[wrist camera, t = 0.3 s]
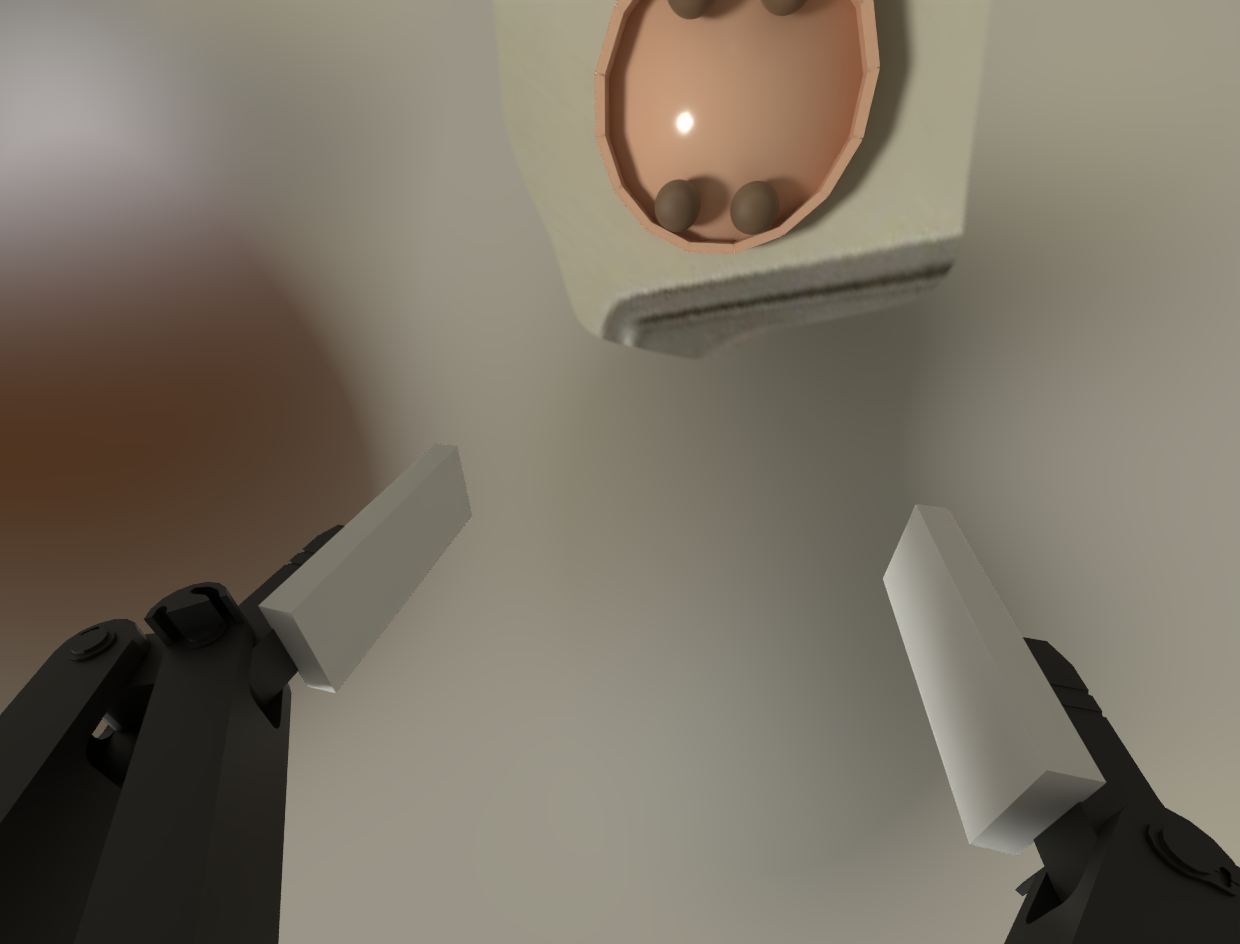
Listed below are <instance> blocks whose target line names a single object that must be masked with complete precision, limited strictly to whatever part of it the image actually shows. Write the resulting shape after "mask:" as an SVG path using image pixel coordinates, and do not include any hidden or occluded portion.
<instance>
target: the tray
mask: <svg viewBox="0 0 1240 944" xmlns="http://www.w3.org/2000/svg"><path fill="white" fill-rule="evenodd" d="M616 5H617V7H616V6H614V9H613V13H612V16H611V20H610V23H609V27H608V30H607V33H606V37H605V40H604V44H603V47H602V50H601V54H600V57H599V61H598V64H597V67H596V71H595V72H596V73H598V74H595V115H596V137H598V138H596V140H597V143H598V146H599V148H600V151H601V154H602V157H603V160H604V163H605V166H606V169H607V172H608V175H609V178H610V181H611V184H612V187H613V190H614V191H615V193H616V194H617V196H618V197H619V198H620V199H621V200H622V202H623V203H624V204H625V205H626V207H627V208H628V209H629V210H630V211H631V213H632V214H633V215H634V216H635V218H636V219H637V220H638V221H639V222H640V224H641V225H642V226H643V227H644V229H645V230H646V229H647V231H648V232H650V233H652V234H654V235H656V236H658V237H660V238H662V239H664V240H665V241H667V242H669V243H671V244H673V245H675V246H677V247H679V248H681V249H683V250H685V251H687V250H688V252H702V253H724V254H734V252H735V254H736V253H738V252H741V251H744V250H746V249H749V248H752V247H755V246H757V245H760V244H763V243H765V242H768V241H771V240H773V239H776V238H779V237H781V236H782V234H783V235H785V234H786V233H787V232H788V231H789V230H790V229H792V228H793V227H794V226H795V225H796V224H797V223H798V222H800V221H801V220H802V219H803V218H804V217H805V216H807V215H808V214H809V213H810V212H811V211H812V210H814V209H815V208H816V207H817V206H818V205H819V204H820V203H822V202H823V201H824V200H825V199H826V198H827V196H829V195H830V193H831V191H832V190H833V188H834V186H835V185H836V183H837V181H838V180H839V178H840V176H841V175H842V173H843V171H844V170H845V168H846V166H847V165H848V163H849V161H850V160H851V158H852V156H853V155H854V153H855V151H856V150H857V148H858V146H859V145H860V143H861V141H862V139H861V138H863V137H864V133H865V128H866V124H867V120H868V116H869V112H870V108H871V103H872V99H873V95H874V91H875V87H876V83H877V78H878V74H879V70H880V68H878V67H880V61H879V51H878V41H877V31H876V21H875V12H874V2H873V0H807V2H806V3H805V4H804V5H803V6H802V7H801V8H800V9H799V10H797V11H796V12H794V13H792V14H790V15H786V16H777V15H774V14H772V13H770V12H769V11H768V10H767V9H766V8H765V7H764V6H763V4H762V2H761V0H715V2H714V4H713V5H712V7H711V8H710V9H709V10H708V12H706V13H705V14H704V15H703V16H701V17H699V18H696V19H691V20H689V19H684V18H681V17H680V16H678V15H677V14H676V13H675V12H674V11H673V10H672V9H671V7H670V5H669V3H668V0H618V1H617V2H616ZM677 179H681V180H685V181H688V182H690V183H691V184H692V185H693V186H694V187H695V188H696V189H697V191H698V193H699V196H700V201H701V207H700V212H699V215H698V218H697V219H696V221H695V222H694V224H693V225H692V226H691V227H689V228H688V229H686V230H684V231H680V232H672V231H669V230H667V229H665V228H664V227H663V226H662V225H661V224H660V223H659V222H658V220H657V217H656V214H655V200H656V197H657V194H658V192H659V191H660V189H661V188H662V187H663V186H664V185H665V184H667V183H668V182H670V181H672V180H677ZM753 181H762V182H766V183H768V184H769V185H771V186H772V187H773V188H774V190H775V191H776V193H777V195H778V199H779V210H778V214H777V217H776V219H775V220H774V222H773V223H772V225H771V226H770V227H769V228H768V229H766V230H765V231H763V232H762V233H759V234H755V235H747V234H744V233H742V232H740V231H739V230H737V229H736V227H735V226H734V225H733V223H732V220H731V216H730V207H731V202H732V200H733V197H734V196H735V194H736V193H737V191H738V190H739V189H740V188H741V187H742V186H744V185H745V184H747V183H750V182H753ZM826 195H827V196H826Z"/></svg>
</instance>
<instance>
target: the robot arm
mask: <svg viewBox="0 0 1240 944" xmlns="http://www.w3.org/2000/svg"><path fill="white" fill-rule="evenodd" d="M471 516H472V512H471V508H470V503H469V498H468V494H467V489H466V484H465V479H464V475H463V470H462V465H461V461H460V456H459V452H458V446H452V445H444V444H436V443H435V444H434V445H433V446H432V447H431V448H430V449H428V450H427V451H426V452H425V453H424V454H423V455H422V456H421V457H420V458H419V459H418V460H417V461H416V462H415V463H413V464H412V465H411V466H410V467H409V468H408V469H407V470H406V471H405V472H404V473H402V474H401V475H400V476H399V477H398V478H397V479H396V480H395V481H394V482H393V483H391V484H390V485H389V486H388V487H387V488H386V489H385V490H384V491H383V492H382V493H381V494H379V495H378V496H377V497H376V498H375V499H374V500H373V501H372V502H371V503H370V504H369V505H367V506H366V507H365V508H364V509H363V510H362V511H361V512H360V513H359V514H358V515H357V516H356V517H354V518H353V519H352V520H351V521H350V522H349V523H348V524H347V525H346V526H342V525H337V526H335V527H333V528H331V529H330V530H328V531H326V532H324V533H322V534H321V535H318V536H317V537H316V538H315V539H314V540H312V541H311V542H310V543H309V544H308V545H307V546H306V547H305V548H303V549H302V551H301V553H298V554H297V555H295V556H294V557H293V558H292V559H291V560H290V561H289V562H288V565H284V566H283V567H282V568H281V569H280V570H278V571H277V572H276V573H275V574H274V575H273V576H272V577H270V578H269V579H268V580H267V581H266V582H265V583H264V584H263V585H261V586H260V587H259V588H258V589H257V590H256V591H255V592H254V593H252V594H251V595H250V596H249V597H248V598H247V599H246V600H244V601H243V602H242V603H241V604H240V605H239V606H238V605H237V604H236V602H235V601H234V599H233V598H232V596H231V595H230V593H229V592H228V590H227V588H226V587H224V586H223V585H221V584H220V583H213V582H205V583H199V584H193V585H191V586H188V587H185V588H183V589H180V590H177V591H176V592H174V593H172V594H170V595H169V596H167V597H165V598H164V599H162V600H161V601H160V602H159V603H157V604H156V605H155V606H154V607H153V608H151V610H150V611H149V612H148V614H147V616H146V617H145V618H144V620H145V621H146V623H147V624H148V625H149V626H150V627H151V629H152V630H153V631H154V632H155V633H153V634H144V633H143V632H142V630H141V629H140V628H139V627H138V626H137V625H136V623H135V622H132V621H130V620H128V619H114V620H110V621H107V622H103V623H99V624H97V625H94V626H92V627H90V628H87V629H85V630H83V631H81V632H79V633H78V634H76V635H75V636H73V637H72V638H70V639H68V640H67V641H66V642H64V643H63V644H62V645H61V646H60V647H59V648H58V649H57V650H56V651H55V652H54V653H53V654H52V655H51V656H50V657H49V659H48V660H47V661H46V662H45V663H44V664H43V666H42V667H41V668H40V669H39V670H38V672H37V673H36V674H35V675H34V676H33V677H32V678H31V680H30V681H29V682H28V683H27V684H26V686H25V687H24V688H23V689H22V690H21V691H20V693H19V694H18V695H17V696H16V697H15V698H14V700H13V701H12V702H11V703H10V704H9V705H8V707H7V708H6V709H5V710H4V711H3V712H2V714H1V715H0V944H278V939H279V920H280V900H281V881H282V862H283V844H284V843H283V842H284V823H285V805H286V785H287V767H288V747H289V729H290V709H291V690H290V686H289V684H288V682H289V680H290V679H291V678H292V677H293V676H294V675H295V674H296V673H297V671H298V672H299V674H300V675H301V677H302V678H303V680H304V682H305V683H306V685H307V686H309V687H312V688H317V689H321V690H325V691H329V692H334V693H337V691H338V690H339V689H340V687H341V686H342V685H343V683H344V682H345V681H346V679H347V678H348V677H349V676H350V674H351V673H352V671H353V670H354V669H355V668H356V666H357V665H358V664H359V663H360V661H361V660H362V658H363V657H364V656H365V655H366V653H367V652H368V651H369V650H370V648H371V647H372V646H373V644H374V643H375V642H376V640H377V639H378V638H379V636H380V635H381V634H382V632H383V631H384V630H385V629H386V627H387V626H388V625H389V623H390V622H391V621H392V619H393V618H394V617H395V615H396V614H397V613H398V612H399V610H400V609H401V608H402V606H403V605H404V604H405V602H406V601H407V600H408V599H409V597H410V596H411V595H412V593H413V592H414V591H415V589H416V588H417V587H418V586H419V584H420V583H421V582H422V580H423V579H424V578H425V576H426V575H427V573H428V572H429V571H430V570H431V568H432V567H433V566H434V565H435V563H436V562H437V561H438V559H439V558H440V557H441V556H442V554H443V553H444V552H445V550H446V549H447V548H448V546H449V545H450V544H451V542H452V541H453V540H454V539H455V537H456V536H457V535H458V533H459V532H460V531H461V529H462V528H463V527H464V526H465V524H466V523H467V522H468V520H469V519H470V518H471ZM883 580H884V583H885V587H886V589H887V593H888V596H889V599H890V602H891V605H892V608H893V611H894V614H895V617H896V620H897V623H898V626H899V630H900V633H901V635H902V638H903V641H904V645H905V648H906V651H907V654H908V657H909V660H910V663H911V666H912V669H913V672H914V676H915V678H916V682H917V685H918V688H919V691H920V694H921V697H922V700H923V703H924V706H925V709H926V712H927V715H928V719H929V721H930V725H931V727H932V731H933V734H934V737H935V740H936V743H937V746H938V749H939V752H940V755H941V758H942V761H943V765H944V768H945V771H946V774H947V777H948V780H949V783H950V786H951V789H952V792H953V795H954V798H955V801H956V804H957V808H958V811H959V813H960V817H961V820H962V823H963V826H964V829H965V832H966V835H967V838H968V841H969V844H970V845H975V846H979V847H983V848H987V849H991V850H995V851H1000V852H1004V853H1008V854H1013V855H1019V854H1020V853H1021V852H1022V851H1024V850H1025V849H1026V848H1027V847H1028V846H1030V845H1031V844H1032V843H1033V842H1035V845H1036V847H1037V850H1038V852H1039V854H1040V857H1041V859H1042V861H1043V864H1044V867H1043V868H1042V869H1040V870H1039V871H1038V872H1036V873H1035V874H1034V875H1032V876H1031V877H1030V878H1028V879H1027V880H1026V881H1024V882H1023V883H1022V884H1021V885H1020V886H1019V887H1018V888H1017V889H1016V891H1017V892H1018V893H1019V894H1021V895H1022V896H1024V895H1025V894H1026V893H1027V895H1026V898H1025V900H1024V902H1023V904H1022V906H1021V908H1020V910H1019V913H1018V915H1017V917H1016V919H1015V922H1014V923H1013V926H1012V928H1011V930H1010V932H1009V934H1008V936H1007V939H1006V941H1005V943H1004V944H1240V867H1238V866H1236V865H1235V863H1234V862H1233V860H1232V859H1231V858H1229V856H1228V855H1227V854H1226V853H1225V852H1224V851H1223V850H1222V848H1221V847H1220V846H1219V845H1218V844H1217V843H1216V842H1215V841H1214V840H1213V839H1212V838H1211V837H1209V836H1208V835H1207V834H1206V833H1204V832H1203V831H1202V830H1201V829H1199V828H1198V827H1197V826H1195V825H1194V824H1193V823H1192V822H1190V821H1189V820H1187V819H1185V818H1183V817H1182V816H1179V815H1178V814H1176V813H1174V812H1172V811H1171V810H1169V809H1167V808H1165V807H1164V805H1163V804H1162V803H1161V802H1160V800H1159V799H1158V797H1157V796H1156V794H1155V793H1154V791H1153V790H1152V788H1151V786H1150V785H1149V783H1148V782H1147V780H1146V779H1145V777H1144V776H1143V774H1142V773H1141V771H1140V770H1139V768H1138V766H1137V765H1136V763H1135V762H1134V760H1133V758H1132V757H1131V755H1130V754H1129V752H1128V751H1127V749H1126V748H1125V746H1124V744H1123V743H1122V741H1121V740H1120V738H1119V737H1118V735H1117V734H1116V732H1115V731H1114V729H1113V727H1112V726H1111V724H1110V723H1109V721H1108V720H1107V718H1106V717H1103V716H1102V710H1101V709H1100V707H1099V706H1098V704H1097V703H1096V701H1095V700H1094V698H1093V696H1091V695H1089V694H1088V689H1087V687H1086V685H1085V684H1084V682H1083V681H1082V679H1081V678H1080V676H1079V675H1078V673H1077V671H1076V670H1075V668H1074V667H1073V666H1072V664H1070V662H1068V661H1067V660H1066V659H1065V658H1064V657H1063V656H1062V655H1061V654H1060V653H1059V652H1058V651H1057V650H1055V648H1054V647H1052V646H1051V645H1050V644H1049V643H1048V642H1047V641H1041V640H1036V639H1030V638H1024V637H1022V636H1021V634H1020V632H1019V630H1018V629H1017V627H1016V625H1015V623H1014V622H1013V620H1012V618H1011V617H1010V615H1009V613H1008V611H1007V610H1006V608H1005V606H1004V604H1003V603H1002V601H1001V599H1000V597H999V596H998V594H997V592H996V591H995V589H994V587H993V585H992V584H991V582H990V580H989V578H988V577H987V575H986V573H985V572H984V570H983V568H982V566H981V565H980V563H979V561H978V559H977V558H976V556H975V554H974V552H973V551H972V549H971V547H970V545H969V544H968V542H967V540H966V539H965V537H964V535H963V533H962V532H961V530H960V528H959V527H958V525H957V523H956V521H955V519H954V518H953V516H952V514H951V513H950V511H949V509H948V508H942V507H934V506H926V505H918V504H916V505H915V508H914V510H913V512H912V514H911V517H910V519H909V521H908V523H907V526H906V528H905V530H904V532H903V535H902V537H901V539H900V542H899V544H898V546H897V548H896V551H895V553H894V555H893V557H892V560H891V562H890V564H889V566H888V569H887V571H886V573H885V575H884V578H883ZM101 720H104V721H105V722H106V723H107V724H108V726H107V727H106V729H105V730H104V732H103V733H102V734H101V735H100V736H99V737H98V738H95V737H94V736H93V735H92V733H93V732H94V730H95V729H96V727H97V726H98V724H99V723H100V721H101Z"/></svg>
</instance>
